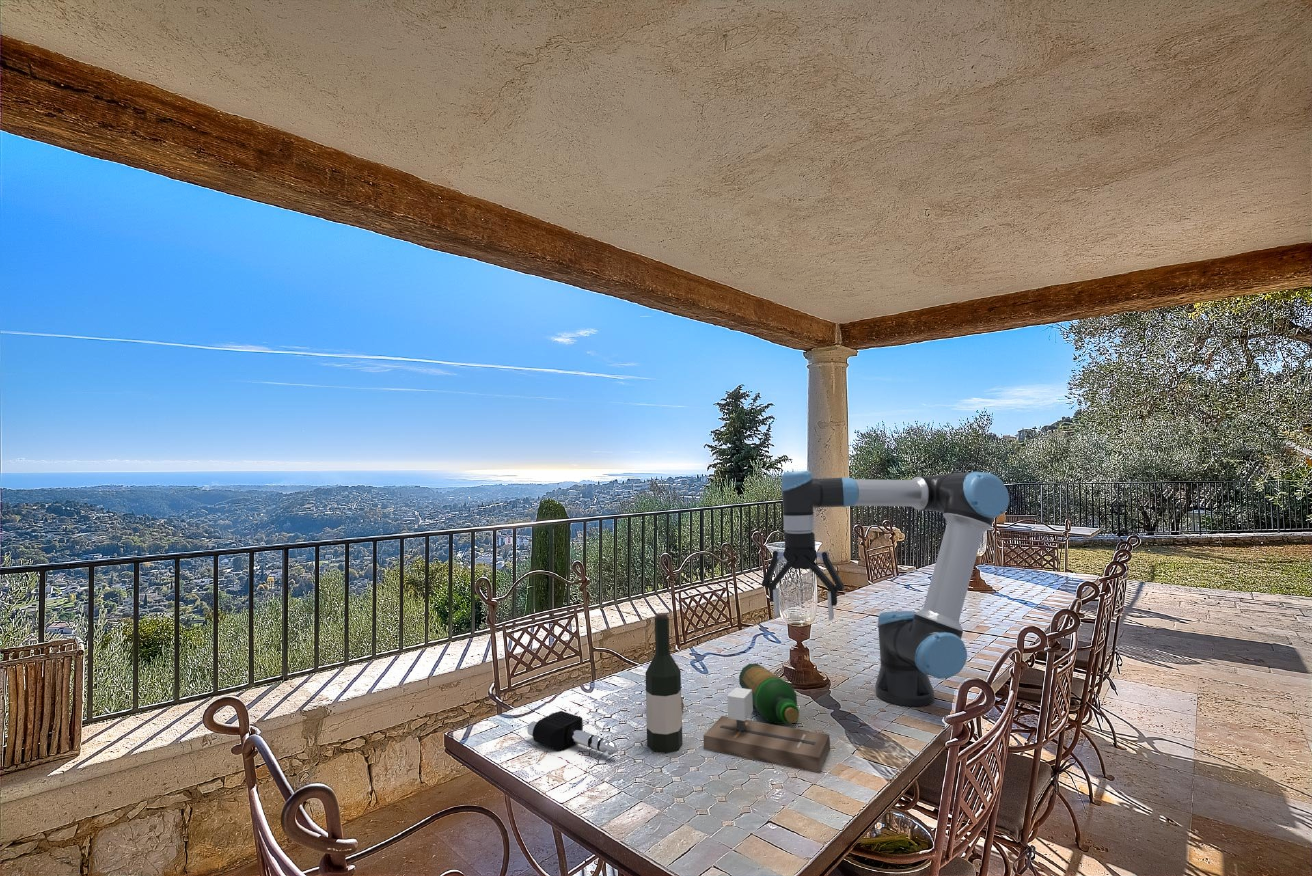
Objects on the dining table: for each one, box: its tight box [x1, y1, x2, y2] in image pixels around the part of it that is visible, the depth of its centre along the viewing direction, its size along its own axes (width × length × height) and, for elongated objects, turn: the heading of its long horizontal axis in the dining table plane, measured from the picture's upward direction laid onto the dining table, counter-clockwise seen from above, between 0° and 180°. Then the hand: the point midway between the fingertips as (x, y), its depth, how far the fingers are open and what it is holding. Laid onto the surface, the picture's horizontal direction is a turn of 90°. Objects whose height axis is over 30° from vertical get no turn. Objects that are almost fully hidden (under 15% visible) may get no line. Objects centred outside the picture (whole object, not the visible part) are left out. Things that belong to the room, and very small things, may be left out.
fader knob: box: [727, 687, 754, 731], centre depth 132 cm, size 4×6×8 cm, turn 153°
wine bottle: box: [645, 612, 684, 754], centre depth 133 cm, size 8×8×30 cm
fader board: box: [703, 715, 831, 773], centre depth 129 cm, size 26×12×3 cm, turn 63°
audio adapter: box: [526, 710, 619, 756], centre depth 132 cm, size 11×5×25 cm
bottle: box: [738, 663, 800, 724], centre depth 148 cm, size 11×11×28 cm
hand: (803, 616), depth 142 cm, fingers open, 13 cm apart
